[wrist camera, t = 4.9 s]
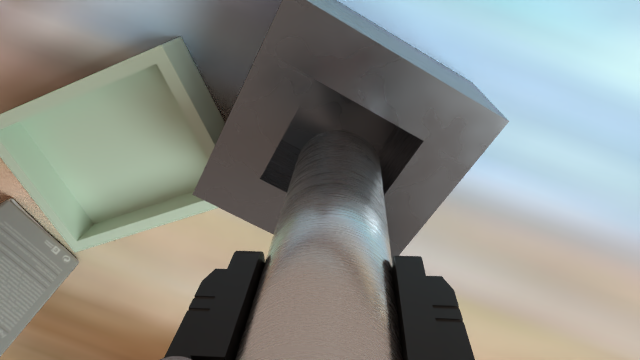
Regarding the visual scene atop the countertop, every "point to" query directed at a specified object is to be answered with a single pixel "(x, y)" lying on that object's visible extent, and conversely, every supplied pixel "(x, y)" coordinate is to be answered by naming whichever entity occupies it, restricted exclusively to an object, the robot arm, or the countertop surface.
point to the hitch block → (347, 117)
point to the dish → (116, 147)
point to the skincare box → (26, 269)
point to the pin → (328, 262)
